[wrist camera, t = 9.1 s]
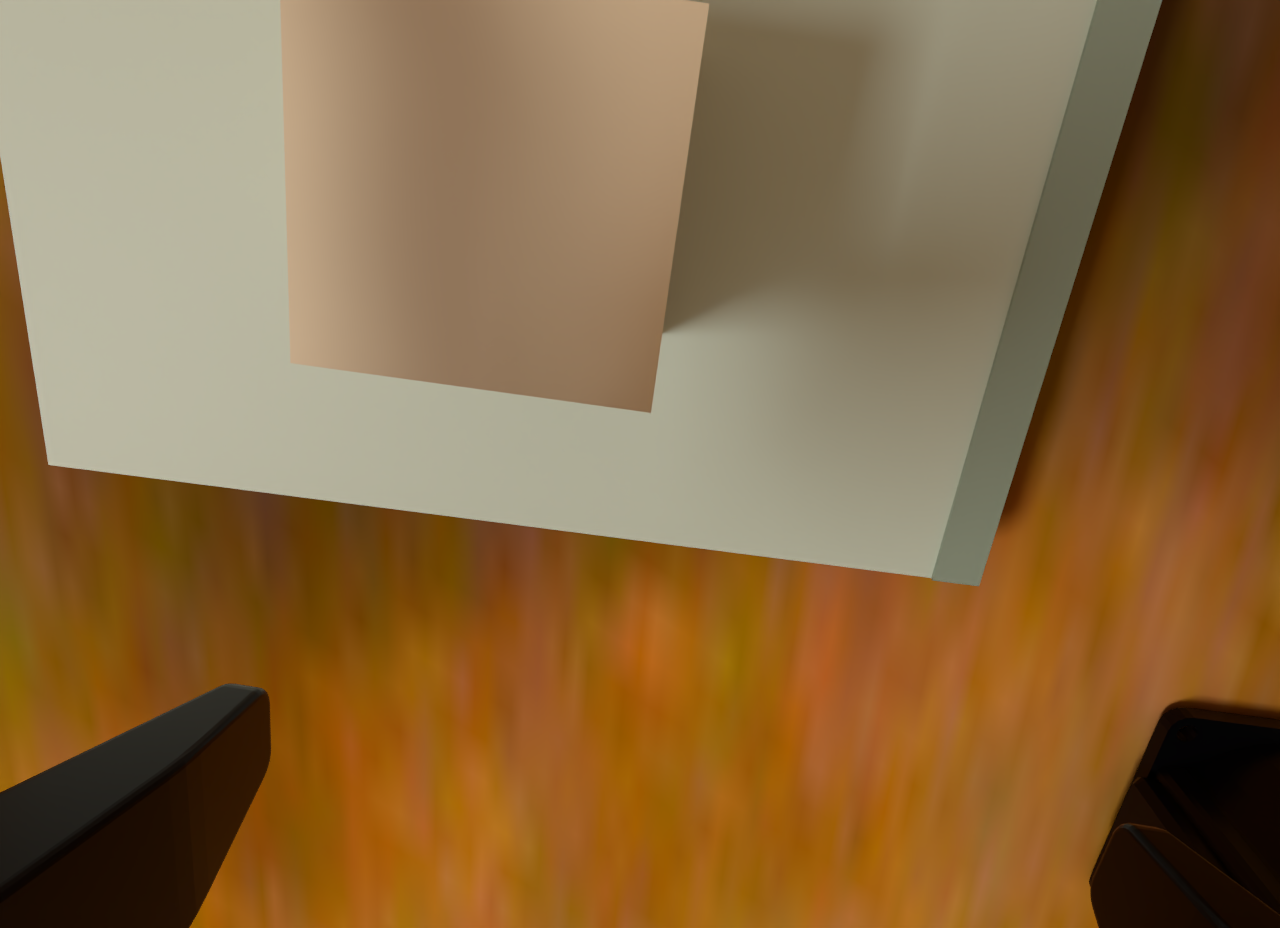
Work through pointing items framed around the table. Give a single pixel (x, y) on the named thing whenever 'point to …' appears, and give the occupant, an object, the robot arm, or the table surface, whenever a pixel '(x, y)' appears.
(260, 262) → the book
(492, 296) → the maple block
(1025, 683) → the table surface
